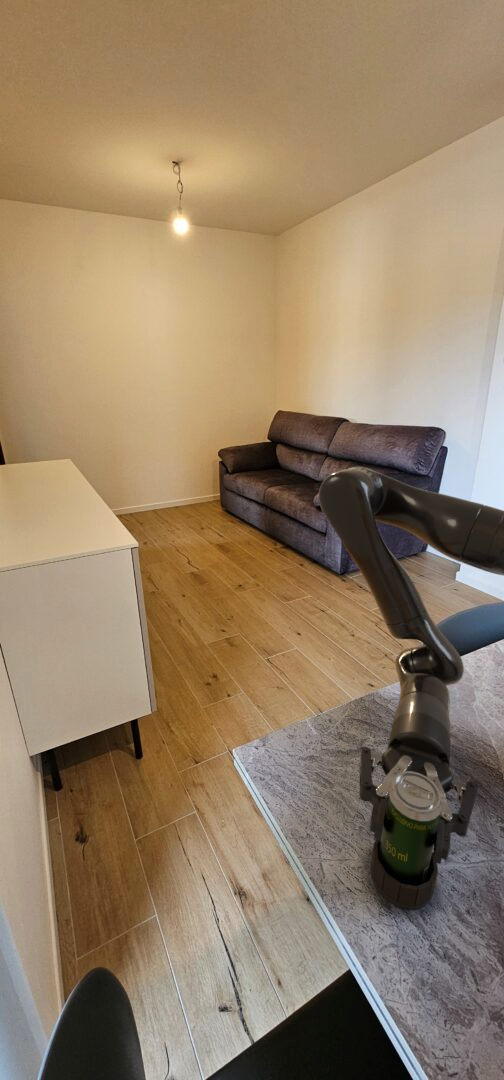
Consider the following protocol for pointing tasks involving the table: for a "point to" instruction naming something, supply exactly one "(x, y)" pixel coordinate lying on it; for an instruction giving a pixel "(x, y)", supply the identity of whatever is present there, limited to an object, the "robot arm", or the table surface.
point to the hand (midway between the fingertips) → (407, 845)
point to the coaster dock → (400, 892)
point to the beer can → (410, 827)
